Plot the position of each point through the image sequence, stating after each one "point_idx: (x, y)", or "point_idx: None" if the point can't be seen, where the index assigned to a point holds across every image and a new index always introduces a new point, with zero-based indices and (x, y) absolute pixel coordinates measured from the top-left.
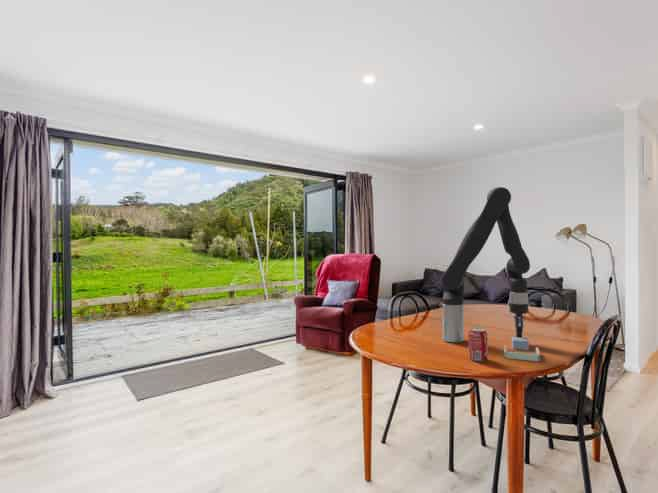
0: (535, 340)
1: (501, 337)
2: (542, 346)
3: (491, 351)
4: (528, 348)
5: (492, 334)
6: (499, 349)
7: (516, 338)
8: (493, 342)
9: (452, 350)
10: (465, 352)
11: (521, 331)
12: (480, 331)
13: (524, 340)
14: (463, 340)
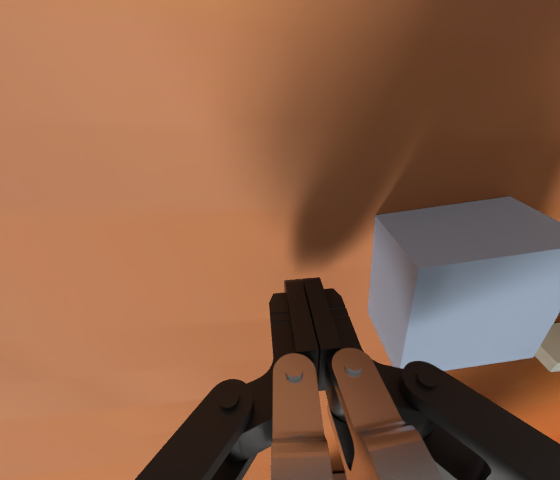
0: (23, 124)
1: (130, 382)
2: (327, 43)
3: (523, 376)
4: (524, 207)
5: (73, 426)
6: None
7: (456, 344)
8: None
9: None
10: None
11: (441, 382)
12: None
13: (548, 282)
14: (342, 477)
